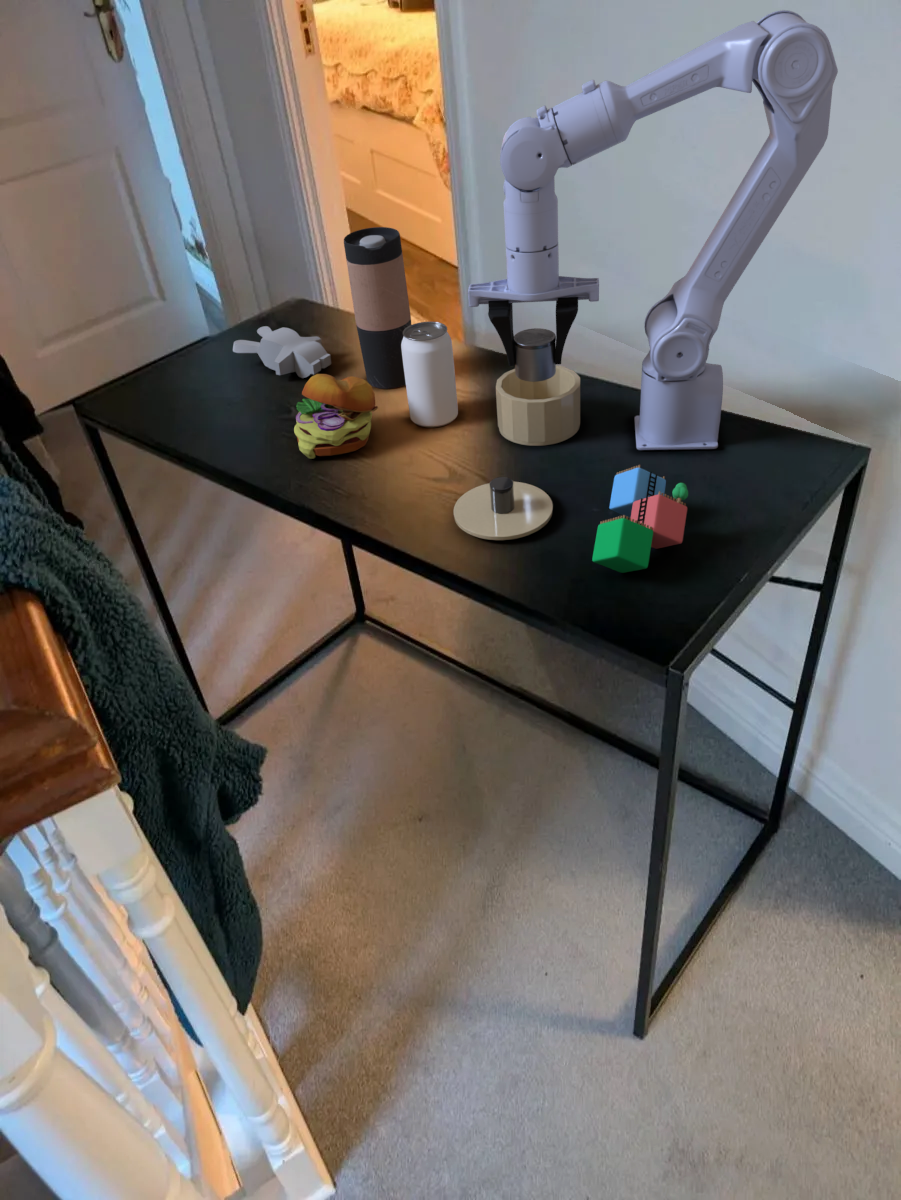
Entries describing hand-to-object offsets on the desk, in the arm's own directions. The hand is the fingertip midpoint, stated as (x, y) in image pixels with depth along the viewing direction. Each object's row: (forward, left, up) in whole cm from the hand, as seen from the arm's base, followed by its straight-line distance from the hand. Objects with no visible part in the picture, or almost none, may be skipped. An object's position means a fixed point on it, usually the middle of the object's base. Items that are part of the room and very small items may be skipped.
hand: (535, 361), depth 106 cm
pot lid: (+3, +17, -10) cm, 20 cm away
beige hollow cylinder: (0, -4, -10) cm, 11 cm away
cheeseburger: (+26, -1, -11) cm, 28 cm away
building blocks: (-11, +22, -11) cm, 27 cm away
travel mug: (+22, -19, -11) cm, 31 cm away
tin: (0, 0, -1) cm, 1 cm away
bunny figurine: (+39, -24, -11) cm, 47 cm away
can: (+14, -6, -11) cm, 19 cm away
